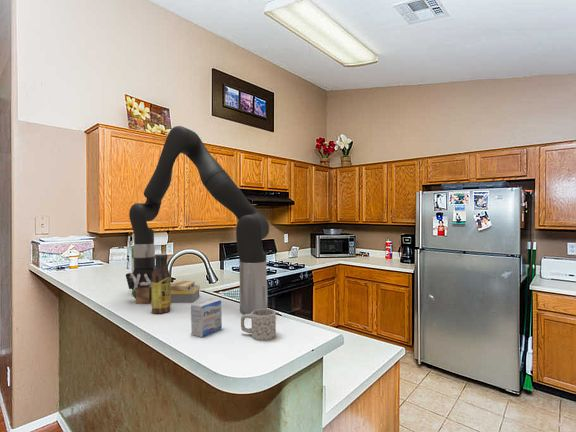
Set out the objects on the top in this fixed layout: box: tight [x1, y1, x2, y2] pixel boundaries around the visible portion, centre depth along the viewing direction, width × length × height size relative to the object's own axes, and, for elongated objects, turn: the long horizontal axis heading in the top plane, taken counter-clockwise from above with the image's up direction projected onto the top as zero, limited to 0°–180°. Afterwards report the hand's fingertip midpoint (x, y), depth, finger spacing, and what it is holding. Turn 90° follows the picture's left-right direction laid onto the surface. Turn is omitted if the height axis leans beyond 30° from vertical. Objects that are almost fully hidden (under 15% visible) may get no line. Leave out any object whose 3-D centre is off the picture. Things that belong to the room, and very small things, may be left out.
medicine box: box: [190, 298, 223, 338], centre depth 98 cm, size 8×4×9 cm, turn 148°
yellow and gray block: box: [171, 284, 201, 303], centre depth 134 cm, size 12×9×4 cm
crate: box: [135, 285, 151, 305], centre depth 130 cm, size 5×5×6 cm
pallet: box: [171, 280, 195, 291], centre depth 134 cm, size 8×10×2 cm
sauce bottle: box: [150, 253, 172, 314], centre depth 118 cm, size 7×6×20 cm
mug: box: [240, 308, 277, 342], centre depth 95 cm, size 10×7×7 cm
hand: (145, 299), depth 131 cm, fingers closed on crate, 5 cm apart
